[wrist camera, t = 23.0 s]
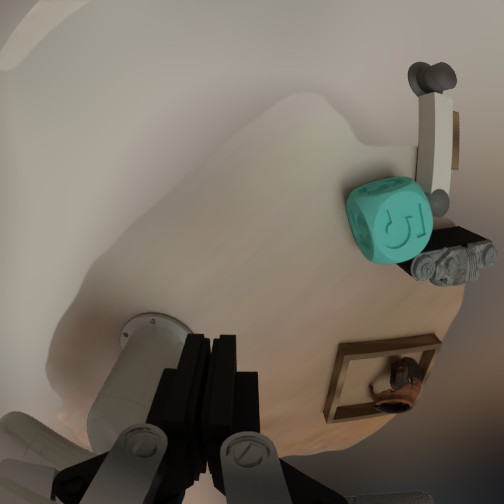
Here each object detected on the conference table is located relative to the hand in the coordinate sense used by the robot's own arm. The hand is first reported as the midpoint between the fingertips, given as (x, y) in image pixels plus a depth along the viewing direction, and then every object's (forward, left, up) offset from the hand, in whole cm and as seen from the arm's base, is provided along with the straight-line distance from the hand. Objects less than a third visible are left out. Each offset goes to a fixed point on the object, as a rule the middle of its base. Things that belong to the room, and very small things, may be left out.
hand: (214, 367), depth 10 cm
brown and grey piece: (+16, -25, -27) cm, 40 cm away
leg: (+10, -25, -27) cm, 38 cm away
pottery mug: (-27, -27, -27) cm, 47 cm away
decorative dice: (+1, -18, -27) cm, 33 cm away
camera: (-4, -27, -27) cm, 39 cm away
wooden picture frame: (-27, -24, -27) cm, 45 cm away
